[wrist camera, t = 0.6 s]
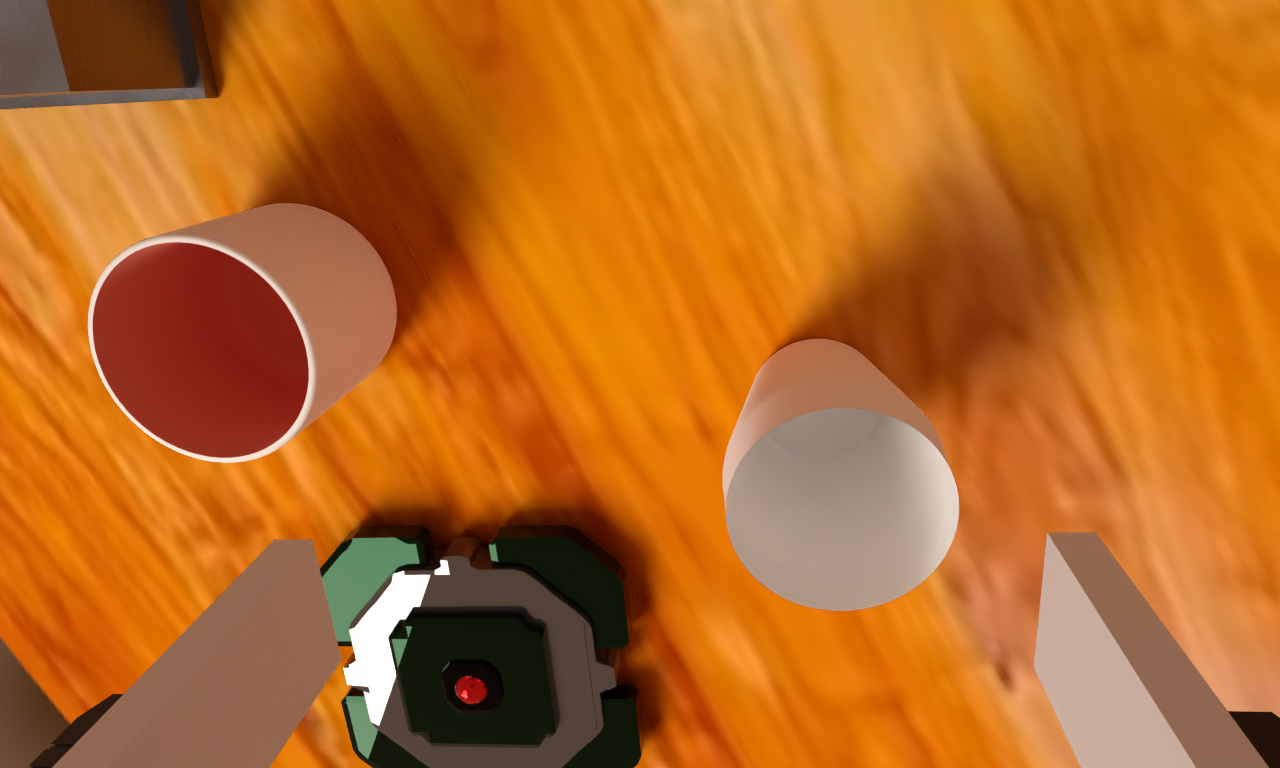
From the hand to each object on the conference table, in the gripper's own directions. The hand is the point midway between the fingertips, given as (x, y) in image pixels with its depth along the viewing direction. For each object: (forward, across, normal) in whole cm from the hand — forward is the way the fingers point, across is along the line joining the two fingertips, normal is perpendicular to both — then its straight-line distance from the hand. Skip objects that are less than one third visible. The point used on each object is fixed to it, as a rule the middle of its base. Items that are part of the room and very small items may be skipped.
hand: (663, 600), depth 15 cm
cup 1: (+28, -21, -1) cm, 35 cm away
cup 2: (+28, +5, -8) cm, 30 cm away
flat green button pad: (+28, -15, -23) cm, 39 cm away
